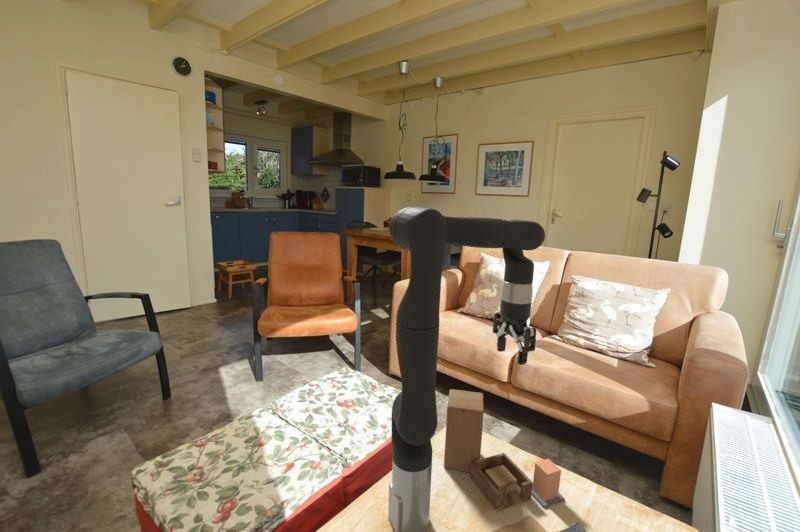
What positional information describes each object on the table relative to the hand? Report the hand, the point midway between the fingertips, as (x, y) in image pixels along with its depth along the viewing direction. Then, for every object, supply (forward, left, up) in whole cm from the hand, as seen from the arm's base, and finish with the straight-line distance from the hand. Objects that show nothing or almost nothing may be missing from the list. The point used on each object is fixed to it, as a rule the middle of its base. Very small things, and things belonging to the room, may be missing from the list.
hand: (510, 357), depth 100 cm
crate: (-3, -4, -36) cm, 36 cm away
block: (+7, -10, -35) cm, 37 cm away
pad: (+7, -10, -36) cm, 38 cm away
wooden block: (-7, +9, -36) cm, 38 cm away
